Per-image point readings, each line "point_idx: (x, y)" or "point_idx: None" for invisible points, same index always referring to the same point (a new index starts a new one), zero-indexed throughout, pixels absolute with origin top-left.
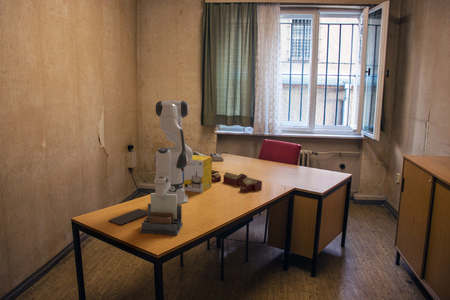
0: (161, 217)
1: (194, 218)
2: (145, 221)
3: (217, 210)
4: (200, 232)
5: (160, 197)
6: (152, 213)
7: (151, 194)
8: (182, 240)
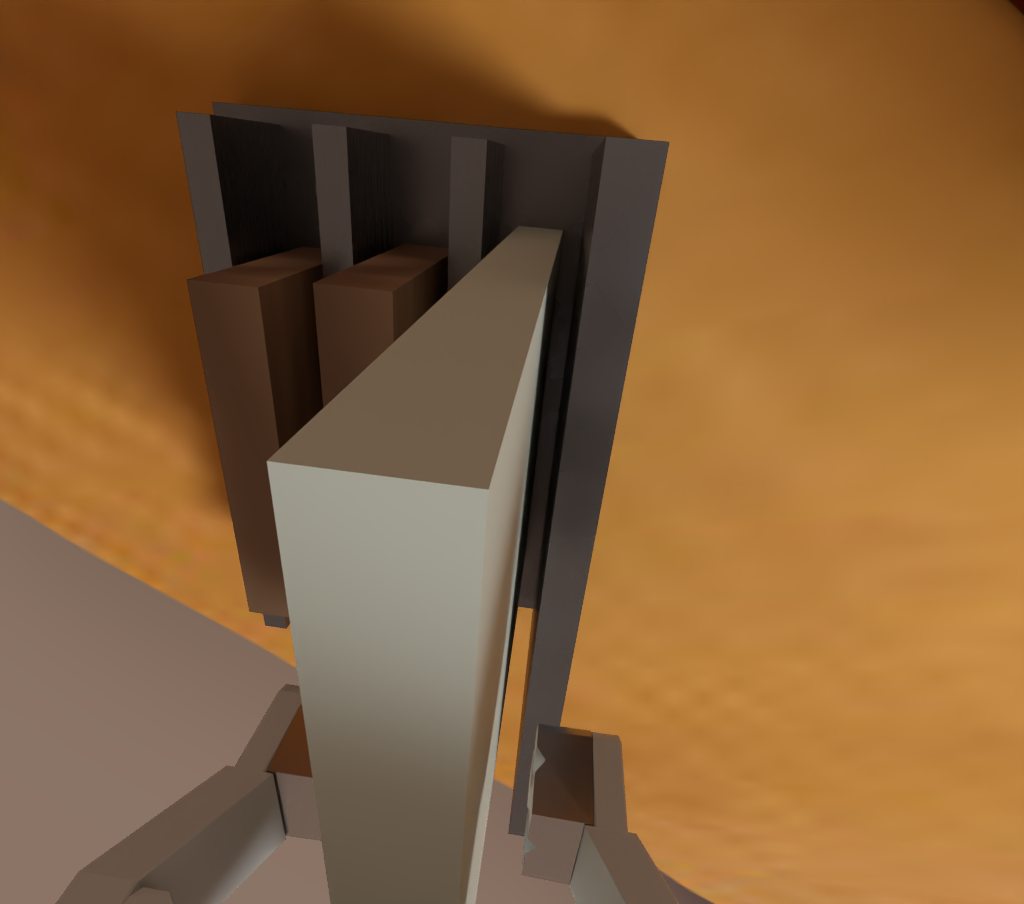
0: (255, 495)
1: (757, 688)
2: (324, 164)
3: (957, 856)
4: None
5: (169, 807)
6: (321, 329)
7: (289, 496)
8: (212, 598)
